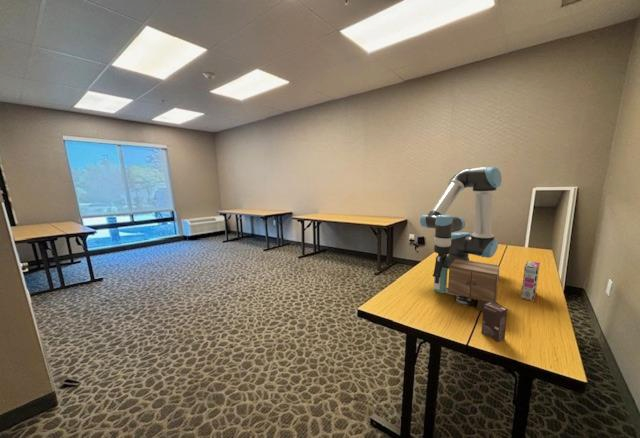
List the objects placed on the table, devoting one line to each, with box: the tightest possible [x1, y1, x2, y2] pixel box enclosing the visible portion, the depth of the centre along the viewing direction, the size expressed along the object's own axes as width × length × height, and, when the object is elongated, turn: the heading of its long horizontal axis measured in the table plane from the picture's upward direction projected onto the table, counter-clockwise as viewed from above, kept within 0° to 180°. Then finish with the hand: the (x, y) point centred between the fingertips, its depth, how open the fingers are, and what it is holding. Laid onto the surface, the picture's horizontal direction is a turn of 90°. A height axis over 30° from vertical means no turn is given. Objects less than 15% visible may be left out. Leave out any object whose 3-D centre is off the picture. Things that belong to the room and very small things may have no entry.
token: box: [455, 296, 472, 307], centre depth 114 cm, size 6×6×2 cm
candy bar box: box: [520, 260, 541, 302], centre depth 119 cm, size 11×5×16 cm, turn 135°
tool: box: [433, 267, 475, 301], centre depth 123 cm, size 5×18×12 cm, turn 51°
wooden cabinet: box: [447, 259, 500, 313], centre depth 113 cm, size 15×18×18 cm
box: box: [481, 302, 509, 343], centre depth 88 cm, size 6×4×12 cm
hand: (440, 284), depth 128 cm, fingers open, 13 cm apart
